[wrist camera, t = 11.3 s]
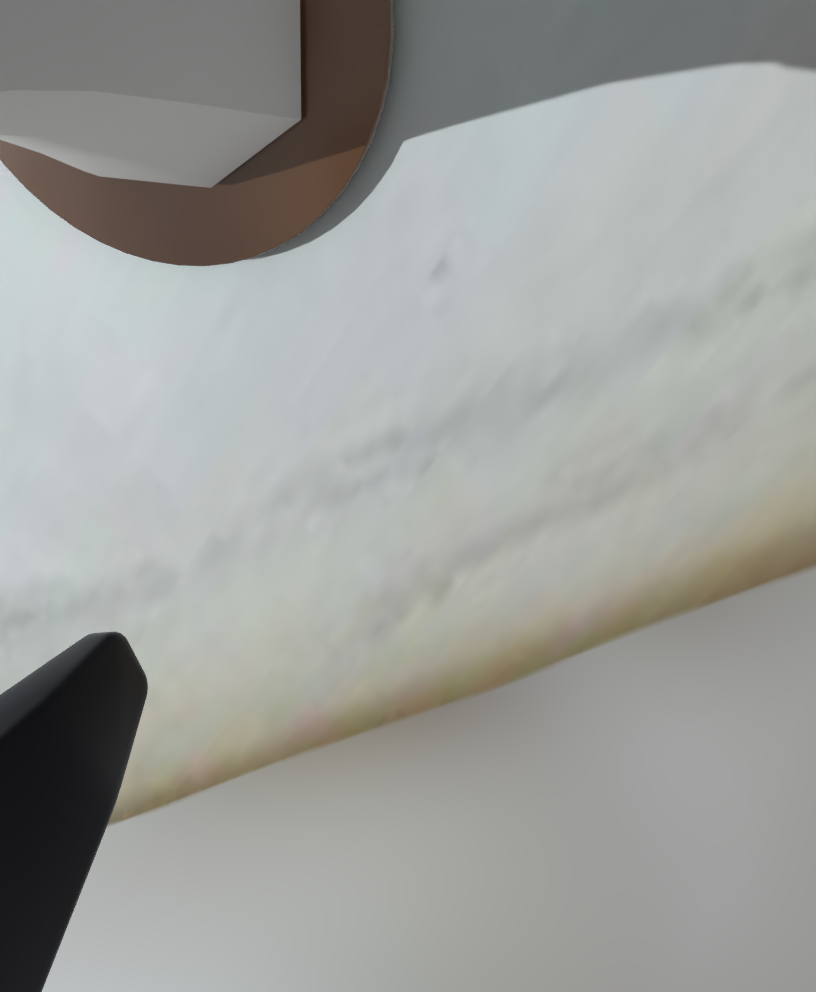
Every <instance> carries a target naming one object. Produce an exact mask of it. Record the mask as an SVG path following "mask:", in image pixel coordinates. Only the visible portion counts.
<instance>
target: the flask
mask: <svg viewBox="0 0 816 992" xmlns="http://www.w3.org/2000/svg"><path fill="white" fill-rule="evenodd" d="M300 120H301V48H300V0H0V140H2V141H5V142H9V143H12V144H15V145H18V146H21V147H24V148H27V149H30V150H33V151H36V152H39V153H42V154H44V155H47V156H49V157H51V158H54V159H56V160H58V161H61V162H63V163H65V164H68V165H70V166H73V167H75V168H77V169H80V170H82V171H85V172H88V173H91V174H94V175H97V176H100V177H110V178H119V179H129V180H139V181H148V182H158V183H168V184H177V185H187V186H197V187H206V188H211V187H213V186H214V185H215V184H217V183H218V182H219V181H221V180H222V179H223V178H225V177H226V176H227V175H229V174H230V173H231V172H233V171H234V170H235V169H236V168H238V167H239V166H240V165H242V164H243V163H244V162H246V161H247V160H248V159H250V158H251V157H252V156H254V155H255V154H256V153H258V152H259V151H260V150H261V149H263V148H264V147H265V146H267V145H268V144H269V143H271V142H272V141H273V140H275V139H276V138H277V137H279V136H280V135H281V134H283V133H284V132H285V131H287V130H288V129H289V128H290V127H292V126H293V125H294V124H296V123H297V122H298V121H300Z"/></svg>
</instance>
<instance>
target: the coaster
mask: <svg viewBox="0 0 816 992" xmlns="http://www.w3.org/2000/svg"><path fill="white" fill-rule="evenodd" d="M393 46H394V0H300V48H301V120H300V121H298V122H297V123H296V124H294V125H293V126H292V127H290V128H289V129H288V130H287V131H285V132H284V133H283V134H281V135H280V136H279V137H277V138H276V139H275V140H273V141H272V142H271V143H269V144H268V145H267V146H265V147H264V148H263V149H261V150H260V151H259V152H258V153H256V154H255V155H254V156H252V157H251V158H250V159H248V160H247V161H246V162H244V163H243V164H242V165H240V166H239V167H238V168H236V169H235V170H234V171H233V172H231V173H230V174H229V175H227V176H226V177H225V178H223V179H222V180H221V181H219V182H218V183H217V184H215V185H214V186H213V187H211V188H206V187H197V186H187V185H177V184H168V183H158V182H148V181H139V180H129V179H119V178H110V177H100V176H97V175H94V174H91V173H88V172H85V171H82V170H80V169H77V168H75V167H73V166H70V165H68V164H65V163H63V162H61V161H58V160H56V159H54V158H51V157H49V156H47V155H44V154H42V153H39V152H36V151H33V150H30V149H27V148H24V147H21V146H18V145H15V144H12V143H9V142H5V141H2V140H0V160H1V161H2V162H3V164H4V165H5V166H6V167H7V168H8V169H9V170H10V171H11V172H12V173H13V175H14V176H15V177H16V178H17V179H18V180H19V181H20V182H21V183H22V184H23V185H24V186H25V187H26V189H28V190H29V191H30V192H31V193H32V194H33V195H34V196H35V197H37V198H38V199H39V200H40V201H41V202H42V203H43V204H44V205H46V206H47V207H48V208H49V209H50V210H51V211H53V212H54V213H56V214H57V215H58V216H60V217H61V218H63V219H64V220H65V221H67V222H68V223H69V224H71V225H72V226H74V227H75V228H77V229H79V230H80V231H82V232H84V233H85V234H87V235H89V236H91V237H92V238H94V239H96V240H98V241H99V242H102V243H104V244H106V245H109V246H111V247H113V248H115V249H118V250H120V251H122V252H125V253H128V254H131V255H134V256H138V257H141V258H144V259H148V260H151V261H156V262H162V263H168V264H174V265H185V266H210V265H219V264H228V263H233V262H237V261H241V260H245V259H249V258H252V257H256V256H258V255H260V254H263V253H265V252H267V251H270V250H272V249H274V248H277V247H279V246H281V245H282V244H284V243H285V242H287V241H289V240H290V239H292V238H293V237H295V236H297V235H298V234H300V233H301V232H303V231H304V230H305V229H306V228H307V227H308V226H310V225H311V224H312V223H313V222H314V221H316V220H317V219H318V218H319V217H320V216H322V215H323V214H324V213H325V211H326V210H327V209H328V208H329V207H330V206H331V205H332V204H333V202H334V201H335V200H336V199H337V198H338V197H339V196H340V195H341V193H342V192H343V191H344V190H345V188H346V187H347V185H348V184H349V182H350V181H351V179H352V178H353V176H354V175H355V173H356V172H357V170H358V169H359V167H360V165H361V163H362V161H363V159H364V157H365V155H366V153H367V151H368V149H369V147H370V145H371V143H372V141H373V138H374V135H375V132H376V129H377V127H378V124H379V121H380V118H381V115H382V112H383V109H384V105H385V100H386V95H387V90H388V86H389V81H390V76H391V68H392V57H393Z"/></svg>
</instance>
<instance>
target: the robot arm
mask: <svg viewBox="0 0 816 992" xmlns="http://www.w3.org/2000/svg"><path fill="white" fill-rule="evenodd" d="M147 689H148V685H147V678H146V675H145V673H144V671H143V669H142V667H141V665H140V663H139V661H138V660H137V658H136V656H135V654H134V652H133V650H132V648H131V646H130V644H129V643H128V641H127V639H126V638H125V637H124V636H123V635H122V634H121V633H118V632H104V633H93V634H89V635H87V636H85V637H84V638H82V639H81V640H79V641H78V642H76V643H75V644H74V645H72V646H71V647H69V648H68V649H66V650H65V651H63V652H62V653H60V654H59V655H58V656H56V657H55V658H53V659H52V660H50V661H49V662H47V663H46V664H44V665H43V666H42V667H40V668H39V669H37V670H36V671H34V672H33V673H31V674H30V675H28V676H27V677H26V678H24V679H23V680H21V681H20V682H18V683H17V684H15V685H14V686H12V687H11V688H10V689H8V690H7V691H5V692H4V693H2V694H1V695H0V992H42V989H43V987H44V984H45V982H46V979H47V976H48V974H49V972H50V969H51V966H52V964H53V961H54V959H55V956H56V953H57V951H58V949H59V946H60V944H61V941H62V939H63V936H64V933H65V931H66V928H67V926H68V923H69V920H70V918H71V916H72V913H73V911H74V908H75V906H76V903H77V901H78V898H79V895H80V893H81V890H82V888H83V885H84V883H85V880H86V878H87V875H88V873H89V870H90V867H91V865H92V863H93V860H94V857H95V855H96V852H97V850H98V847H99V845H100V842H101V839H102V837H103V835H104V832H105V829H106V827H107V824H108V822H109V819H110V817H111V814H112V811H113V808H114V806H115V803H116V800H117V797H118V793H119V790H120V787H121V784H122V781H123V777H124V774H125V770H126V767H127V763H128V759H129V756H130V752H131V749H132V745H133V742H134V738H135V735H136V731H137V728H138V724H139V721H140V717H141V714H142V710H143V707H144V703H145V700H146V696H147Z"/></svg>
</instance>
